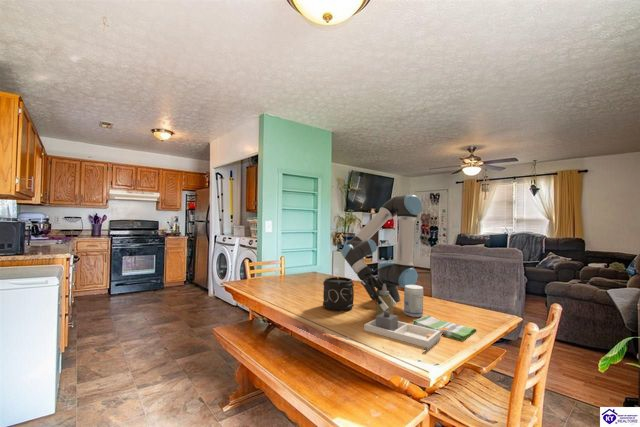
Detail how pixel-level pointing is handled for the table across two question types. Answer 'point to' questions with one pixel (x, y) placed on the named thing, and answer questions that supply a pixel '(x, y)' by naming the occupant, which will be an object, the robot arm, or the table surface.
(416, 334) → the tray
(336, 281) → the black marked cylinder
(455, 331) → the dish towel
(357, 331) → the table surface
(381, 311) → the squeeze bottle
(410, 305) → the supplement tub
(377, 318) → the block
